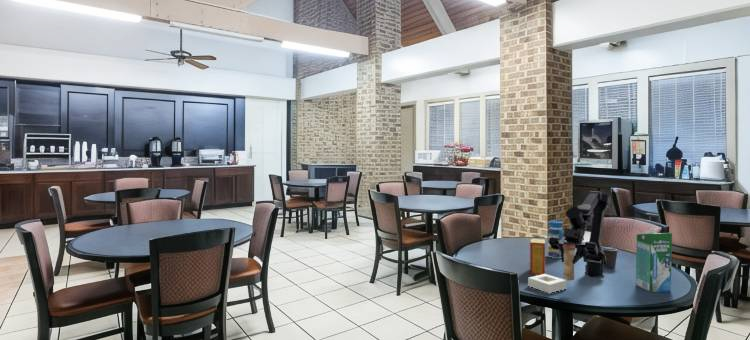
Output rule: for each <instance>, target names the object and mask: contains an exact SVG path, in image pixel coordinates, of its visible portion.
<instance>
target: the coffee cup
mask: <svg viewBox="0 0 750 340" xmlns="http://www.w3.org/2000/svg"><path fill="white" fill-rule="evenodd" d="M602 247H603V246H602ZM603 252H604V254H605V257H606V265H603V268H606V269H615V268H616V264H617V257H618V252H619V249H617V248H616V247H612V246H611V247H610V246H604V247H603Z"/></svg>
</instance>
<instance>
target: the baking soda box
mask: <svg viewBox="0 0 750 340" xmlns="http://www.w3.org/2000/svg"><path fill="white" fill-rule="evenodd" d="M529 242H530V246H529V254H530V255H529V258H530V259H529V265H530V266H529V270H530V272H529V274H530V275H532V274H538V275H541V274H546V239H543V238H542V239H541V238H531V239H530V241H529Z"/></svg>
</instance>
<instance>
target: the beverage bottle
mask: <svg viewBox="0 0 750 340" xmlns="http://www.w3.org/2000/svg"><path fill="white" fill-rule="evenodd" d="M548 226H549V229H548V231H547V235H548V236H547V257H549V258H551V257H552V259H561V251H559V250H557V249H552V248H551V246H550V244H549V242H548V241H549V238H550V237H556V238H560V240H561V241H565V236H563V233H564V230H563V229H562V228H563V221H561V220H550V221H549V225H548Z"/></svg>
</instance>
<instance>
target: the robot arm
mask: <svg viewBox="0 0 750 340" xmlns="http://www.w3.org/2000/svg"><path fill="white" fill-rule="evenodd" d="M611 203H612V199H611V197H610V195H608V194H605V193H603V192H602V191H597V190H596V191H595V190H594V191H593V190H591V191H588V195H587V197H586V198H585V199H584V201H583V203H582V204H579V205H572V207H571V208H570V207H569V208H568V209H567V210H566V211H565V216H566V218H567V220H568V223H569V224H570V228H564V229H563V237H564V241H561V240H560V238H556V237H550V238H549V241H548V240H547V243H548V242H549V244H550V246H551V248H552V249H557V250H559V251H561V258H560V260H561V263H564V248H563V244H572V245H575V250H576V252H575V253H574V259H573V264H574V265H575V264H576V263H578V261H579V260H581V259H583V262H584V263H586V264H585V265H584V267H585V271H584V274H585V275H587V276H588V277H590V278H605V275H604V267H603V265H606V257H605V254H604V252H603V245H602V243H601V241H602V235H603V234H602V233H603V225H604V219H605V218H604V217H605V214H606V212H607V211H609V208H610V205H611ZM591 221H592V222H591ZM587 222H588V223H590V222H591V229H590V236H589V241H585V243H584V244H582V243H583V241H584V239H585V233H586V231H587V229H588V228H587V226H588V224H587Z"/></svg>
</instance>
